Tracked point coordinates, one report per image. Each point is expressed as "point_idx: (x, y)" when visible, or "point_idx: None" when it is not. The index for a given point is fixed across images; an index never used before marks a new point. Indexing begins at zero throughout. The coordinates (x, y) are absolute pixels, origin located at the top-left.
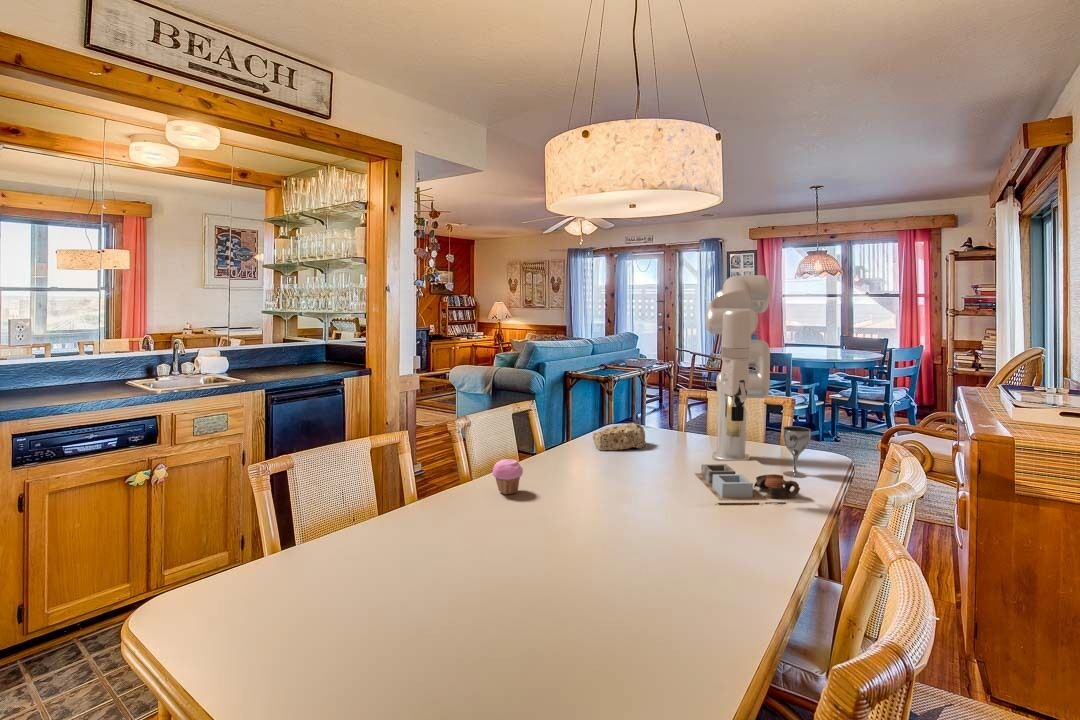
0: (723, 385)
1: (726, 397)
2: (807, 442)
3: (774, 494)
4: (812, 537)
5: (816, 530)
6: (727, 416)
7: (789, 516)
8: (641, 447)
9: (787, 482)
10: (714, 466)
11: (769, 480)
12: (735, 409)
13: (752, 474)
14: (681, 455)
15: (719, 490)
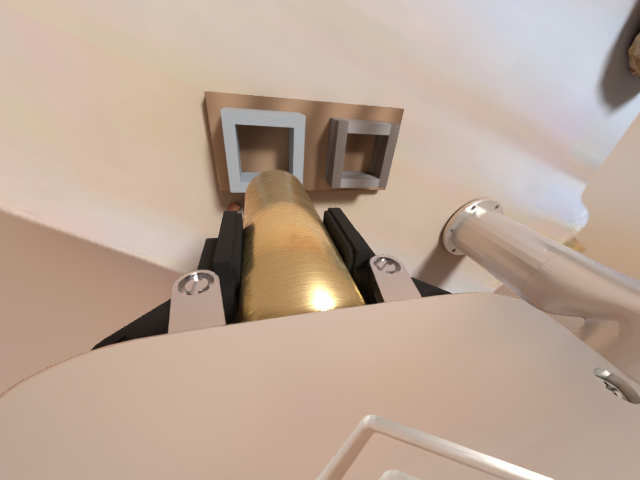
0: (466, 408)
1: (395, 287)
2: None
3: None
4: (38, 218)
5: (88, 237)
6: (278, 205)
7: (160, 218)
8: (629, 54)
9: None
10: (383, 155)
11: None
12: (207, 269)
13: (386, 233)
14: (531, 140)
15: (245, 109)
